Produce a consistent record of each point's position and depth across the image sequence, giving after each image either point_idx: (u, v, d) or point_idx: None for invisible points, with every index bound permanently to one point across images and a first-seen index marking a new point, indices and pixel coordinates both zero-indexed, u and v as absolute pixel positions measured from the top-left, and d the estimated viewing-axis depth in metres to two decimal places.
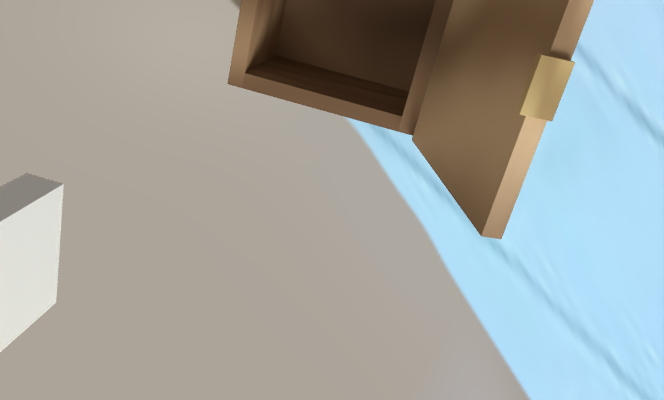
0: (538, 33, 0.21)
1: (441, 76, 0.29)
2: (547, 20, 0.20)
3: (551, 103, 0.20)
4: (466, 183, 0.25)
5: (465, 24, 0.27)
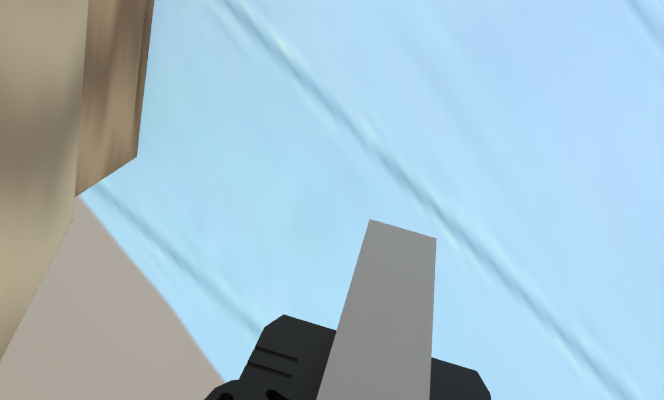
0: None
1: None
2: None
3: None
4: None
5: None
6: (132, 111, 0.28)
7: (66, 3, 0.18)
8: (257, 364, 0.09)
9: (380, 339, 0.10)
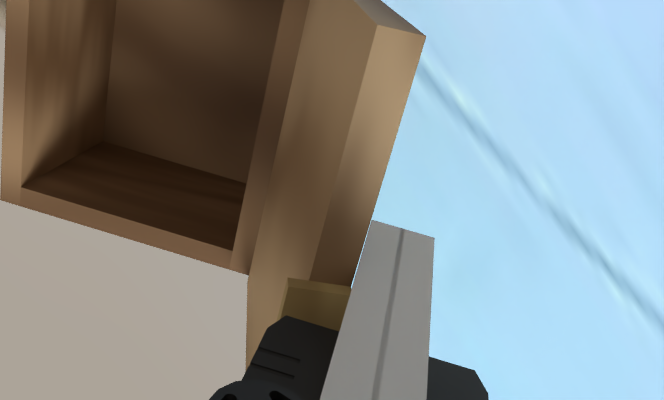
0: (309, 228, 0.12)
1: (267, 210, 0.20)
2: (316, 212, 0.12)
3: None
4: None
5: (285, 148, 0.19)
6: None
7: None
8: (260, 365, 0.09)
9: (383, 340, 0.10)
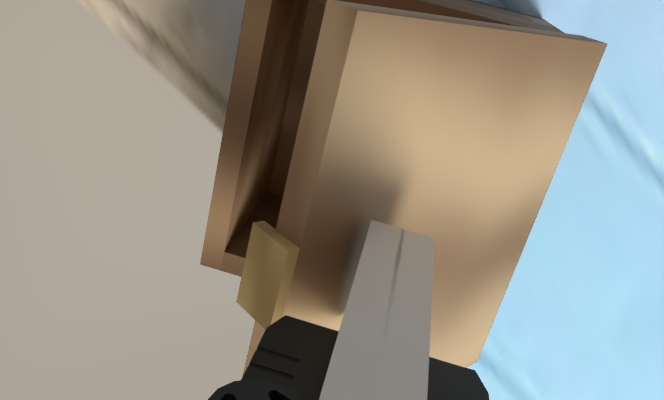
0: None
1: None
2: None
3: (266, 303, 0.13)
4: None
5: None
6: None
7: (518, 137, 0.16)
8: (259, 365, 0.09)
9: (382, 340, 0.10)
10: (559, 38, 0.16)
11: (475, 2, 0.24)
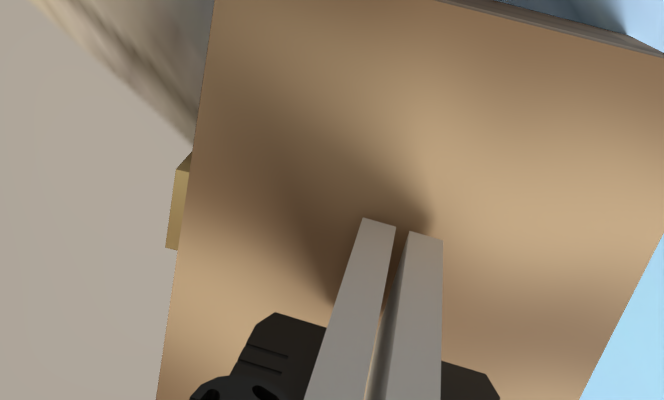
0: None
1: None
2: None
3: (171, 221, 0.14)
4: None
5: None
6: None
7: (535, 166, 0.13)
8: (247, 361, 0.09)
9: (370, 336, 0.10)
10: (596, 43, 0.12)
11: (542, 14, 0.19)
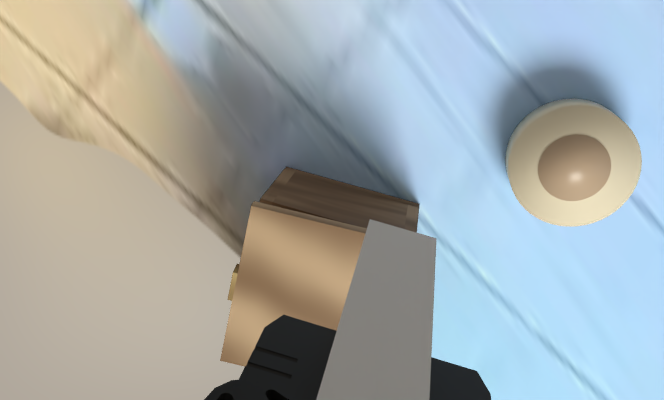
0: None
1: None
2: None
3: (230, 289, 0.39)
4: None
5: None
6: None
7: None
8: (257, 364, 0.09)
9: (380, 339, 0.10)
10: None
11: (380, 197, 0.44)
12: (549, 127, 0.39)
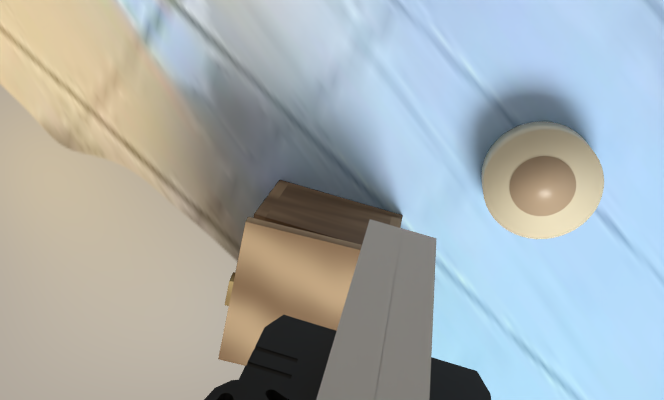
0: None
1: None
2: None
3: (226, 296, 0.43)
4: None
5: None
6: None
7: (341, 281, 0.42)
8: (257, 364, 0.09)
9: (380, 339, 0.10)
10: (354, 248, 0.41)
11: (366, 209, 0.48)
12: (519, 149, 0.42)
